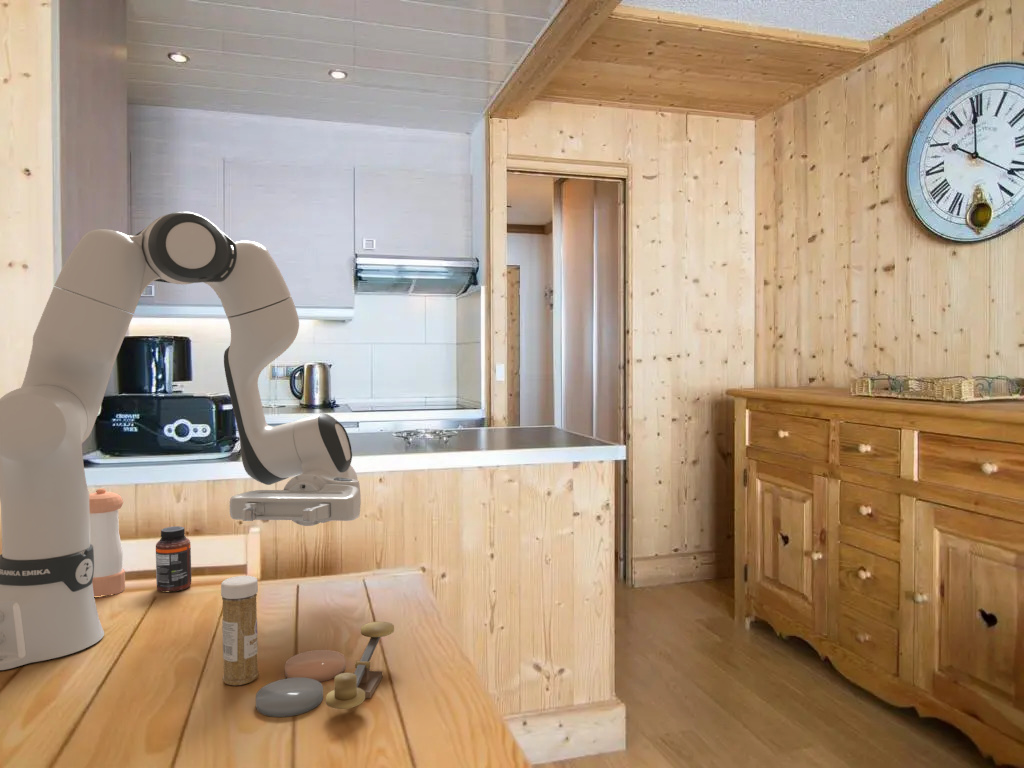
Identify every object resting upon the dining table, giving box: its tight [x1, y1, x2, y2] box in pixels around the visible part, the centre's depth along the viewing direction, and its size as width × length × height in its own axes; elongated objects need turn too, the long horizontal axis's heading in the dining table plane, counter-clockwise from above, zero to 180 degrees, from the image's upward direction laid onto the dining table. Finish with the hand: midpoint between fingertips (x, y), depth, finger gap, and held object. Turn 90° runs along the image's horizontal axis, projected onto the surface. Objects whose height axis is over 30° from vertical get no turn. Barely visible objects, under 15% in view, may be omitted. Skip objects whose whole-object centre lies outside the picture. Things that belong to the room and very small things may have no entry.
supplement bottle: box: [155, 526, 192, 592], centre depth 133 cm, size 6×6×11 cm
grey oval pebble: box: [255, 677, 324, 718], centre depth 89 cm, size 8×8×1 cm
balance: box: [325, 621, 395, 710], centre depth 93 cm, size 5×19×5 cm, turn 176°
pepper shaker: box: [89, 487, 126, 596], centre depth 131 cm, size 7×7×19 cm
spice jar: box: [220, 575, 260, 686], centre depth 95 cm, size 5×5×13 cm
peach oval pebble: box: [284, 649, 346, 683], centre depth 98 cm, size 8×8×1 cm
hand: (276, 516), depth 107 cm, fingers open, 8 cm apart
